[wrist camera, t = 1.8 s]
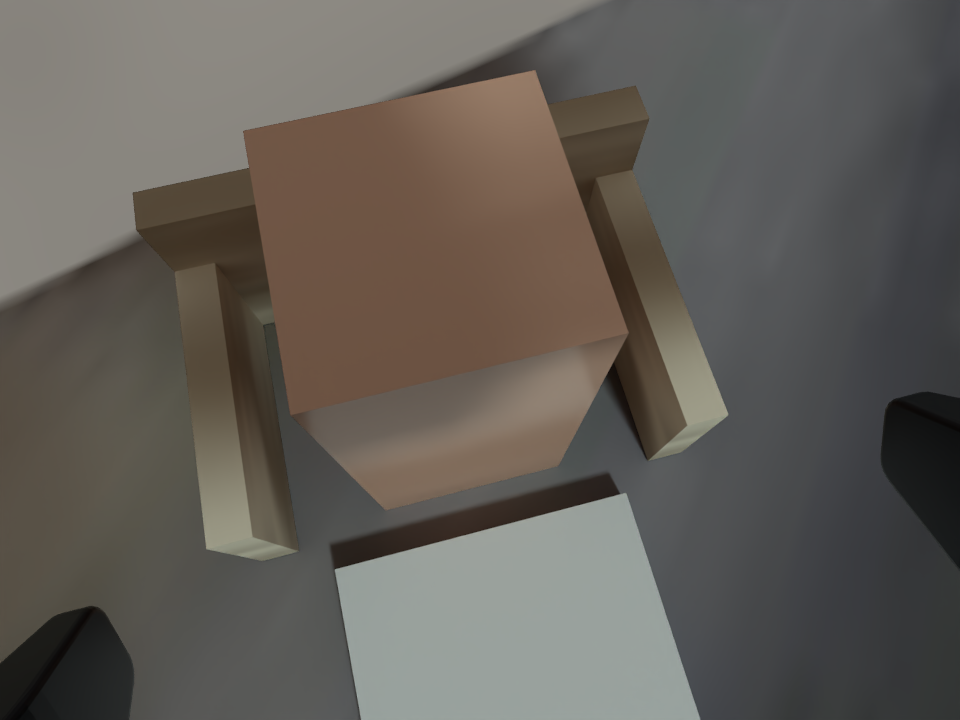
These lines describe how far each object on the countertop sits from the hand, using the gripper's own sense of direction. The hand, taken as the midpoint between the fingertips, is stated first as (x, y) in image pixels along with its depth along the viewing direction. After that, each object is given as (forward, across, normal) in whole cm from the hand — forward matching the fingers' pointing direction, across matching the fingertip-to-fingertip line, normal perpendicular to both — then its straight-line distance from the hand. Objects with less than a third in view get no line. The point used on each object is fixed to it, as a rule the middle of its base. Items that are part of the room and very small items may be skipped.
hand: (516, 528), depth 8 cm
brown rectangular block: (+12, 0, +5) cm, 12 cm away
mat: (+6, 0, +10) cm, 12 cm away
